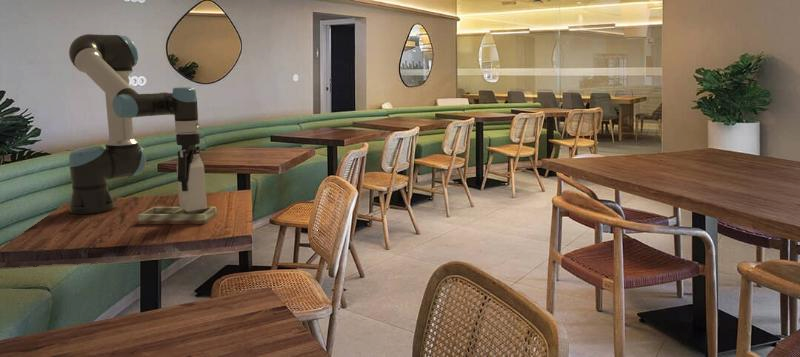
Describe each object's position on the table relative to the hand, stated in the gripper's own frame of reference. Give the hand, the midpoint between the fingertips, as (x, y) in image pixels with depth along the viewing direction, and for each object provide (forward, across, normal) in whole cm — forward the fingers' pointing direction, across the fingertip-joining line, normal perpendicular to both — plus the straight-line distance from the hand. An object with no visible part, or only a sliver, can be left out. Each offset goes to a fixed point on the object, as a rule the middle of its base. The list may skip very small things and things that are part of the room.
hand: (192, 196), depth 207 cm
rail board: (+8, 0, +6) cm, 10 cm away
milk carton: (+4, 0, 0) cm, 4 cm away
